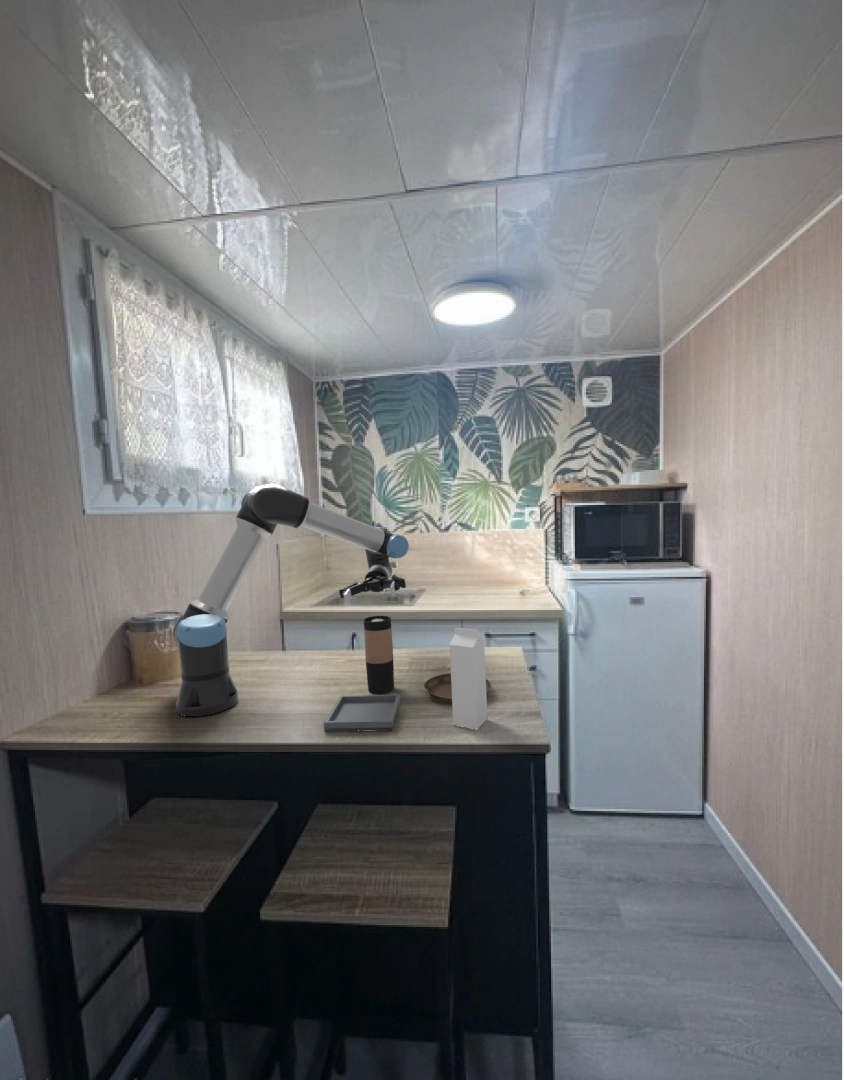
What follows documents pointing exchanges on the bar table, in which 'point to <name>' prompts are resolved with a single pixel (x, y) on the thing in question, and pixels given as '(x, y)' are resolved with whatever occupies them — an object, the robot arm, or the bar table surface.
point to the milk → (468, 678)
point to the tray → (363, 713)
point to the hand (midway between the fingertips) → (369, 595)
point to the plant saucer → (443, 688)
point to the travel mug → (379, 654)
